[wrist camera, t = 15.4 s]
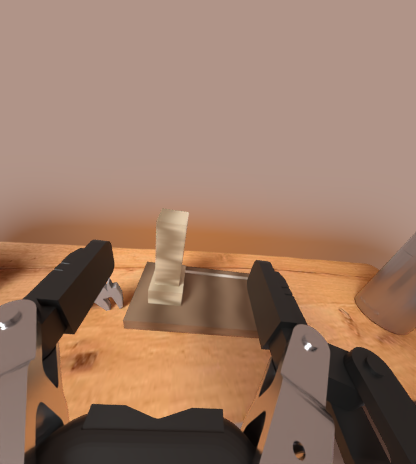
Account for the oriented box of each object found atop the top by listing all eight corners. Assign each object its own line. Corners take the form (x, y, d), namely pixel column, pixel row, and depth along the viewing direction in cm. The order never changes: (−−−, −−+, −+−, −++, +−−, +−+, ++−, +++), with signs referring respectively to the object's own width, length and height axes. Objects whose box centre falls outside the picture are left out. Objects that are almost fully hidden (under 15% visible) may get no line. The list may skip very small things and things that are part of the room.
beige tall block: (184, 274, 33) (194, 207, 26) (180, 305, 27) (191, 231, 20) (157, 271, 32) (160, 202, 25) (148, 303, 27) (147, 225, 20)
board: (268, 282, 38) (271, 275, 37) (292, 340, 28) (298, 333, 27) (147, 269, 35) (147, 261, 34) (124, 328, 25) (123, 319, 24)
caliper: (123, 303, 28) (120, 276, 25) (123, 309, 28) (119, 282, 24) (-59, 328, 21) (-95, 295, 18) (-67, 338, 21) (-107, 305, 17)
